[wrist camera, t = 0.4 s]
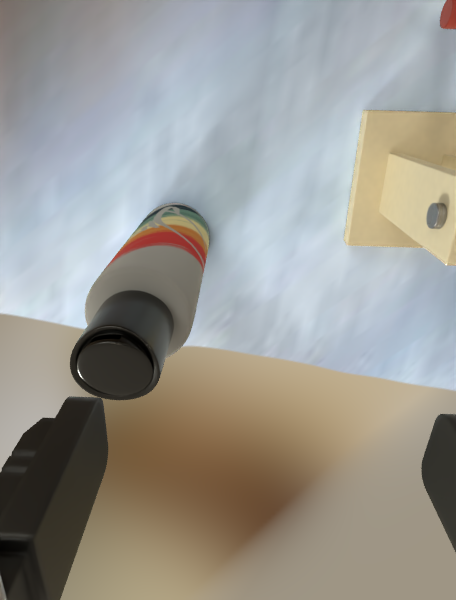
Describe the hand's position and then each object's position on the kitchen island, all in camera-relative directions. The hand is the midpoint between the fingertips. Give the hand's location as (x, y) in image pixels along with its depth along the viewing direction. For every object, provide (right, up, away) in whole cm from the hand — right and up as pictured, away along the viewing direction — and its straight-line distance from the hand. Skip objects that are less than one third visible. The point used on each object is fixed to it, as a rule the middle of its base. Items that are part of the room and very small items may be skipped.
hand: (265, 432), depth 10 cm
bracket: (+13, +13, +23) cm, 30 cm away
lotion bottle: (-5, +9, +26) cm, 28 cm away
